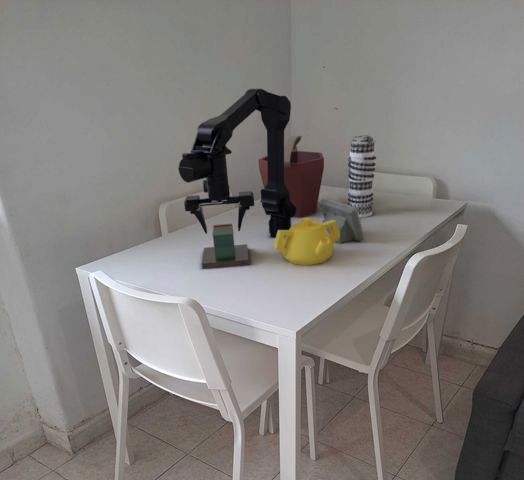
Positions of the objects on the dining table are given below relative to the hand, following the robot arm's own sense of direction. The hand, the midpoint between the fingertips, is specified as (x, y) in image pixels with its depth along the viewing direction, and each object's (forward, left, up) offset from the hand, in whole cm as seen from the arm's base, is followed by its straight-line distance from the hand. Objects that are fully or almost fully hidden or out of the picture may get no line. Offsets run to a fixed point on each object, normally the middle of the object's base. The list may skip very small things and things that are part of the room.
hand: (222, 232), depth 139 cm
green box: (0, 0, -6) cm, 6 cm away
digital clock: (-33, -18, -8) cm, 38 cm away
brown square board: (0, 0, -8) cm, 8 cm away
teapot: (-25, +1, -8) cm, 26 cm away
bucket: (-16, -47, -8) cm, 50 cm away
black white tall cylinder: (-39, -42, -8) cm, 58 cm away
